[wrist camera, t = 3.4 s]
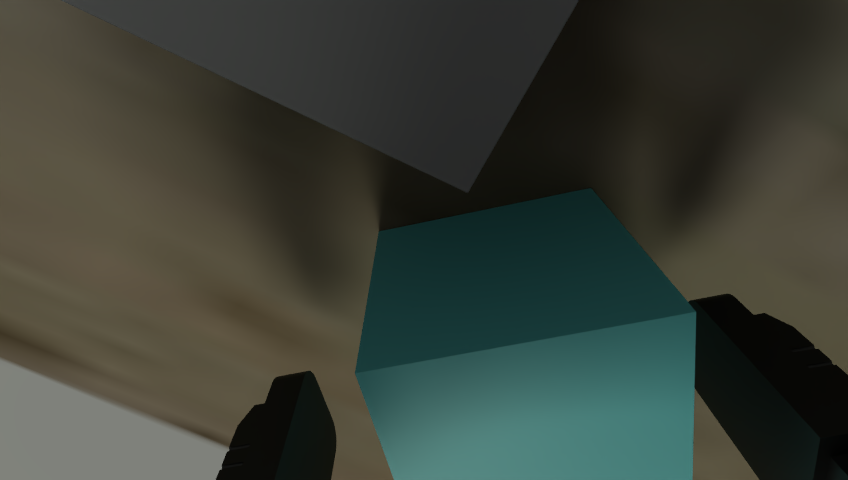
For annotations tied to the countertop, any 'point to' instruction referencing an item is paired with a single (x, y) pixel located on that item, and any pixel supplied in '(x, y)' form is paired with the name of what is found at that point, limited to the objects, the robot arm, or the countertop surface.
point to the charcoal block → (369, 64)
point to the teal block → (527, 348)
